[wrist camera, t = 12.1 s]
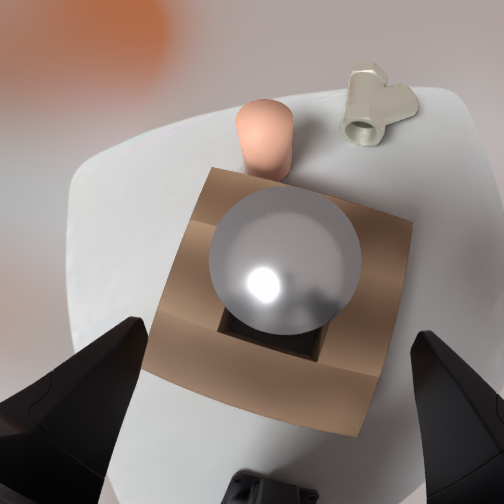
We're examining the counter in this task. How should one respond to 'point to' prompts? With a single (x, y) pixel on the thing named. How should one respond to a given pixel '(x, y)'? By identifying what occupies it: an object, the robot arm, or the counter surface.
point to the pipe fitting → (373, 104)
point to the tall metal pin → (285, 260)
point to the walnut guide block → (268, 356)
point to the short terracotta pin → (266, 138)
